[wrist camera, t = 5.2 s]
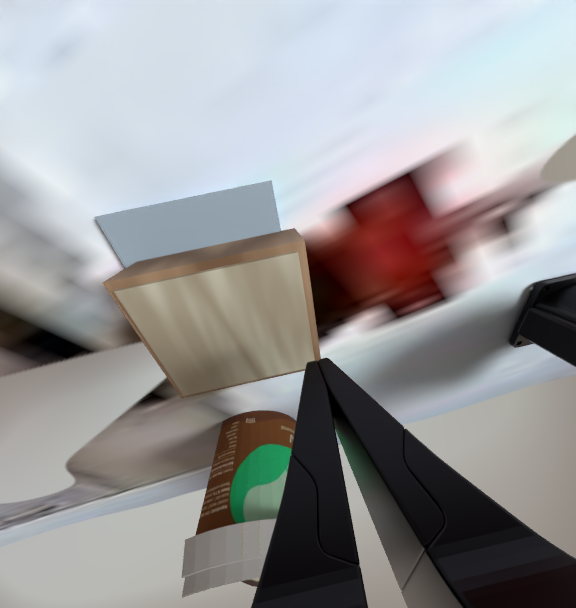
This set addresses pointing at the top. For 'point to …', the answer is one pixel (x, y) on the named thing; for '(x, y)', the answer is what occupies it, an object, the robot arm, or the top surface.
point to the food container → (240, 501)
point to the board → (191, 223)
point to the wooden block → (223, 311)
